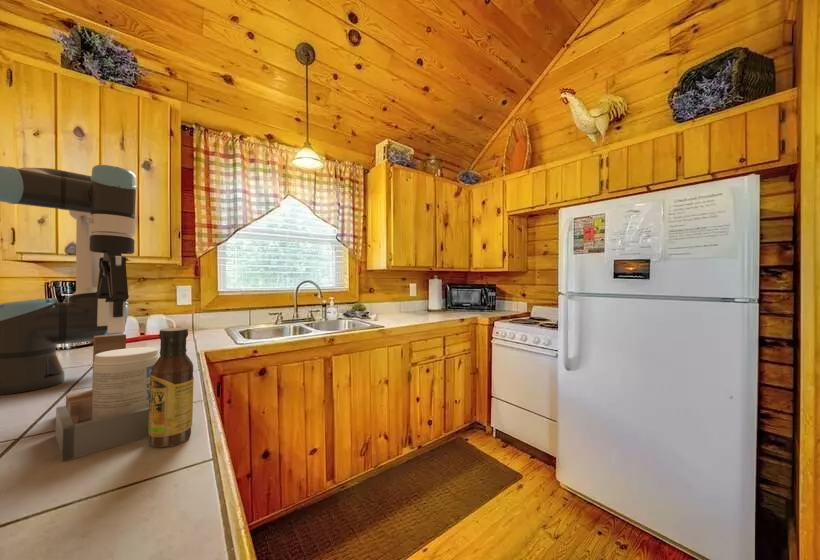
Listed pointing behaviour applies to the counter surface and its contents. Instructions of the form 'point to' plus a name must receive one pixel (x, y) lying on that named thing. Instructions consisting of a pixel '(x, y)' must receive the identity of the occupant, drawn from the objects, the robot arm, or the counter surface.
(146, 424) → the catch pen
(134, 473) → the counter surface
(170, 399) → the sauce bottle
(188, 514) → the counter surface
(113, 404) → the supplement tub
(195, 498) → the counter surface
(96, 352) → the wooden bracket
